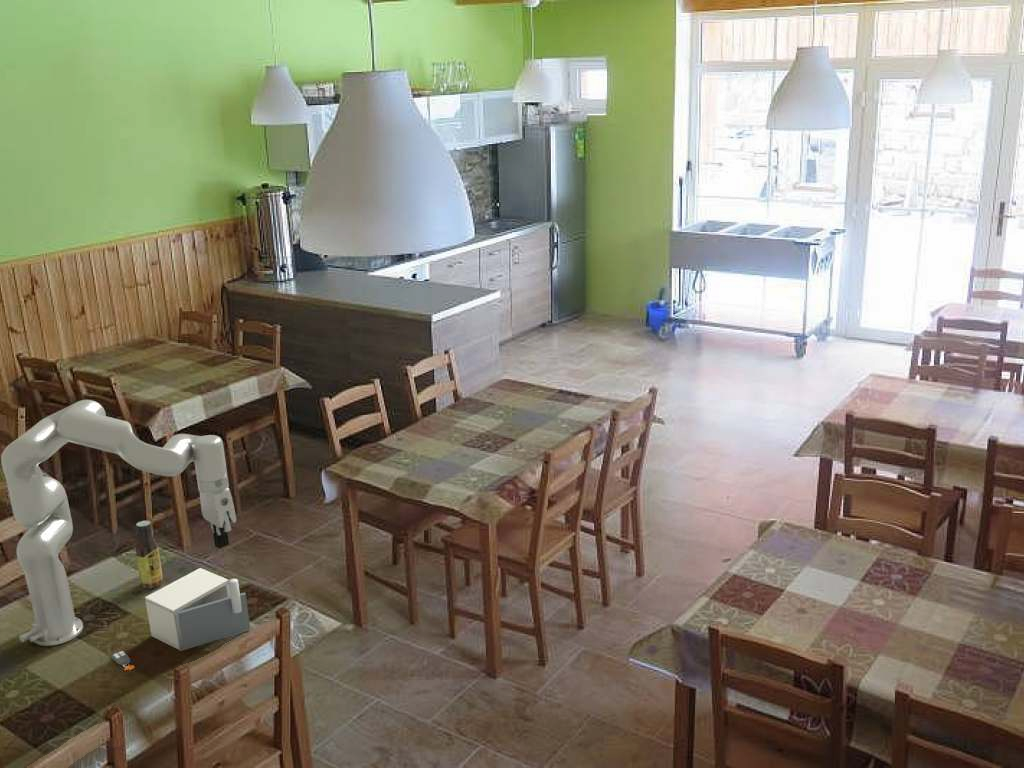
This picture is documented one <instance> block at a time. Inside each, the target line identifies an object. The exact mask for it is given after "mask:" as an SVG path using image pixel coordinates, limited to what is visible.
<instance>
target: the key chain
mask: <svg viewBox="0 0 1024 768" xmlns="http://www.w3.org/2000/svg"><path fill="white" fill-rule="evenodd" d="M110 657H111V659H112V660H113V661H114V662H115V663H116V664H117V665H118V664H119V666H120V665H122V666H121V667H124V669H123V670H124V671H126V670H128V669H129V670H131V669H132V670H134V669H135V665H130V664H131V662H130V661H131V658H130V657H129V656H128V654H127V652H125V650H119V651H116V652H114V653H113V654H111V655H110ZM129 663H130V664H129ZM127 664H128V666H127ZM125 665H126V666H125ZM133 668H134V669H133ZM132 670H131V671H132ZM126 672H127V671H126Z"/></svg>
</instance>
